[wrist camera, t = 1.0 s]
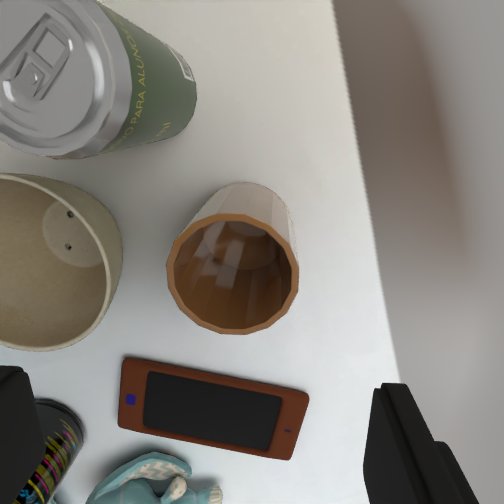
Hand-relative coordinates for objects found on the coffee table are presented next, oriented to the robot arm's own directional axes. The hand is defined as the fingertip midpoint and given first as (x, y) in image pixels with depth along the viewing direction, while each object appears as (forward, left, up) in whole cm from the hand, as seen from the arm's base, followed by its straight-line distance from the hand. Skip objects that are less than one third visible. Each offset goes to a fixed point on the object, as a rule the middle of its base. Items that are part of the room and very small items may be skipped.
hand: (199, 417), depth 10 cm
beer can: (-10, +2, -16) cm, 19 cm away
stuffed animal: (+12, -23, -16) cm, 31 cm away
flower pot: (-8, -8, -16) cm, 20 cm away
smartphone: (+9, -13, -16) cm, 22 cm away
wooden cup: (0, 0, -16) cm, 16 cm away
